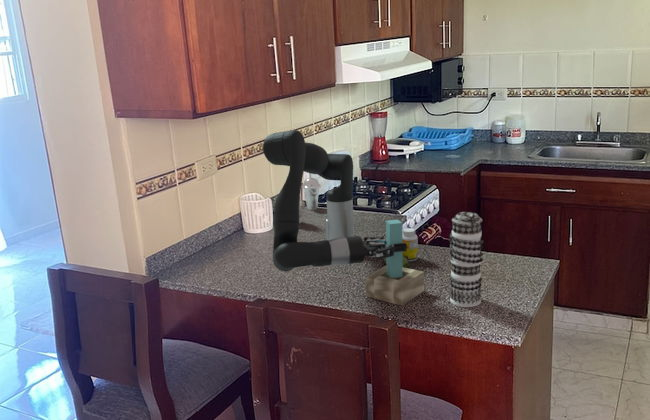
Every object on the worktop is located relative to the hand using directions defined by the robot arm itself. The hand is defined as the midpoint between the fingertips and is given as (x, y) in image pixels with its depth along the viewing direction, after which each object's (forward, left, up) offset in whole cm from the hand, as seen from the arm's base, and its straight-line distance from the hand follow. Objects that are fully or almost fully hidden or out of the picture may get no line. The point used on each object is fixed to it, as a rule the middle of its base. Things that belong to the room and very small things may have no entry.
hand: (403, 244), depth 174 cm
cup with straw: (-82, +59, -15) cm, 102 cm away
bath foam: (-75, +38, -15) cm, 85 cm away
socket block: (-2, -2, -15) cm, 15 cm away
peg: (-2, -2, -9) cm, 9 cm away
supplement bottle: (-13, +25, -15) cm, 32 cm away
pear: (-13, +17, -15) cm, 26 cm away
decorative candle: (+17, +4, -15) cm, 23 cm away
